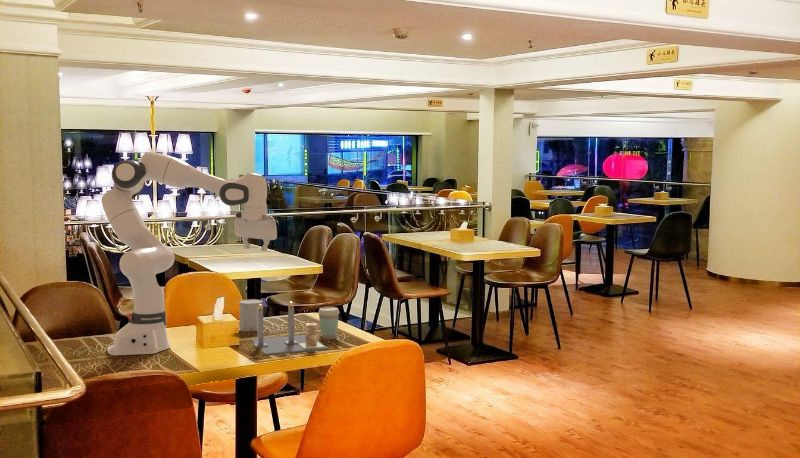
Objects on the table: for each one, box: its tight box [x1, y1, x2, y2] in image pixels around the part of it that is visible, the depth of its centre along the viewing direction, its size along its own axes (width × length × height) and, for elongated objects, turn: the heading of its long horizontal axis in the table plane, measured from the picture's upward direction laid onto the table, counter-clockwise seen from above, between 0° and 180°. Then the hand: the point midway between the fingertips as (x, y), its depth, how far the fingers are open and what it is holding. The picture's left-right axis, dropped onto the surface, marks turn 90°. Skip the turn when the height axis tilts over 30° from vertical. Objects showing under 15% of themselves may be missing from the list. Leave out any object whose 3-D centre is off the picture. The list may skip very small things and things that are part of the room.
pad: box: [299, 341, 326, 349], centre depth 316 cm, size 8×8×1 cm
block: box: [305, 322, 318, 346], centre depth 316 cm, size 4×4×8 cm
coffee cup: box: [317, 306, 340, 341], centre depth 332 cm, size 8×8×12 cm
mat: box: [251, 334, 329, 357], centre depth 320 cm, size 24×24×1 cm
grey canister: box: [238, 298, 263, 332], centre depth 345 cm, size 10×10×12 cm
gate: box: [253, 301, 298, 349], centre depth 317 cm, size 16×4×16 cm, turn 112°
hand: (255, 249), depth 325 cm, fingers open, 8 cm apart
